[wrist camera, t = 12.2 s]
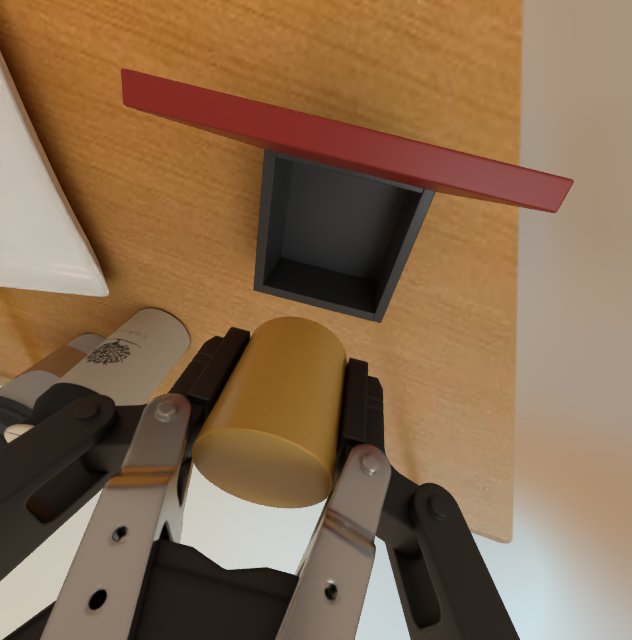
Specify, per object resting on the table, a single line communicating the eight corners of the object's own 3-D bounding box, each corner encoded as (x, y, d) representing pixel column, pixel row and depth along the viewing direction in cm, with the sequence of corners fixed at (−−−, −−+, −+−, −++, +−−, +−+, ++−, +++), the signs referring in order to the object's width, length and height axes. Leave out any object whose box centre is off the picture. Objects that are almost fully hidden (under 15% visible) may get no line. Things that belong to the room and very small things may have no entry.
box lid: (557, 213, 8) (576, 180, 7) (122, 105, 8) (119, 66, 7) (437, 192, 19) (443, 178, 18) (261, 148, 19) (263, 133, 19)
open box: (379, 286, 31) (380, 323, 26) (274, 259, 32) (253, 290, 26) (425, 167, 24) (439, 184, 19) (289, 133, 25) (264, 140, 19)
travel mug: (190, 360, 43) (97, 486, 29) (137, 342, 43) (16, 461, 28) (192, 319, 38) (82, 445, 24) (133, 298, 38) (-15, 415, 24)
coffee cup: (111, 375, 49) (24, 462, 37) (64, 341, 45) (-48, 424, 33) (136, 355, 45) (48, 447, 33) (86, 317, 42) (-32, 402, 30)
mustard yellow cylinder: (326, 305, 11) (296, 421, 7) (359, 383, 13) (353, 508, 9) (231, 328, 12) (161, 436, 8) (275, 396, 14) (236, 509, 10)
